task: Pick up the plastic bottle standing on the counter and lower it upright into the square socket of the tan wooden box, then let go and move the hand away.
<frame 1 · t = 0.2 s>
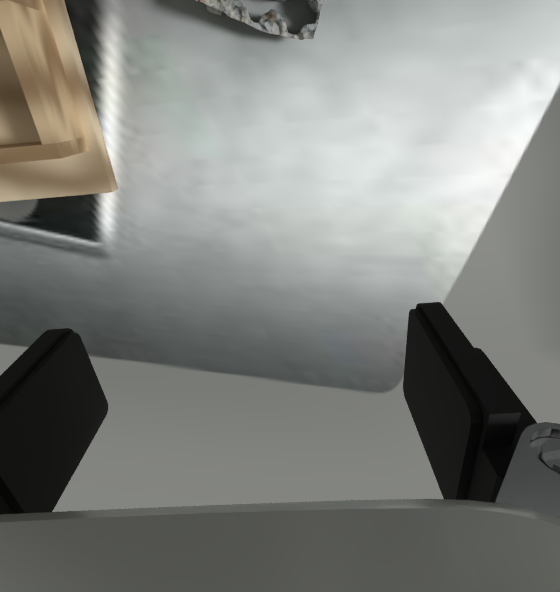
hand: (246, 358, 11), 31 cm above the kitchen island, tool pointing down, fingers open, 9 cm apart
tan wooden box: (13, 86, 35), on the kitchen island
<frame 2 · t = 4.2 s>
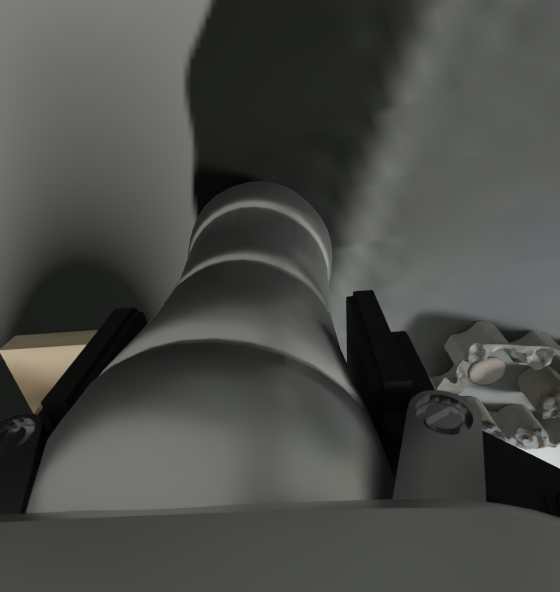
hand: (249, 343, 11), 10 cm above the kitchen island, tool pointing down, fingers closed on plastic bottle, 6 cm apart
tan wooden box: (165, 442, 27), on the kitchen island
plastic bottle: (265, 235, 20), on the kitchen island, touching gripper
grey rocky tray: (509, 368, 24), on the kitchen island
when the fingers open (12 cm above the kitchen island, at t = 10.4 s): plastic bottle drops 1 cm, resting on tan wooden box.
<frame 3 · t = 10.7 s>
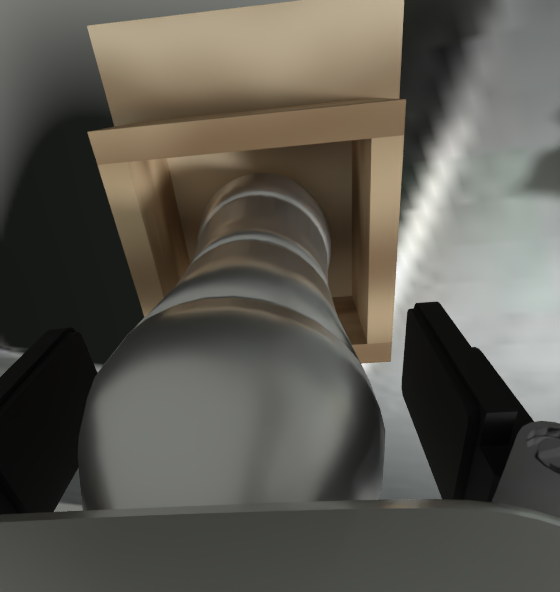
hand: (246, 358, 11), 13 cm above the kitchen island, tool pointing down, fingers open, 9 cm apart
tan wooden box: (267, 220, 22), on the kitchen island
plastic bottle: (268, 224, 21), point 1 cm above the kitchen island, touching tan wooden box
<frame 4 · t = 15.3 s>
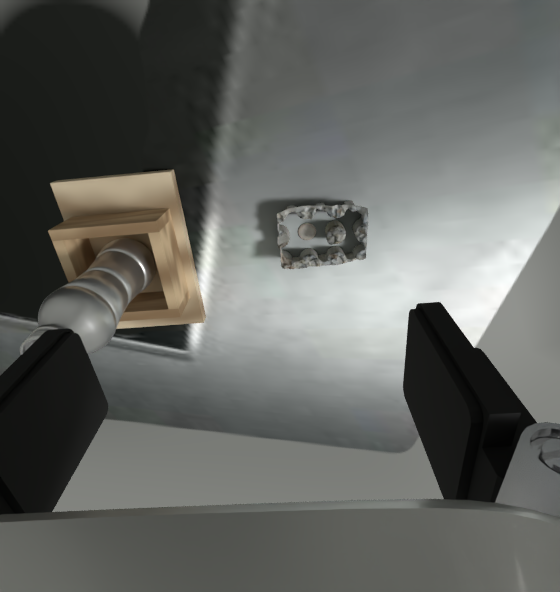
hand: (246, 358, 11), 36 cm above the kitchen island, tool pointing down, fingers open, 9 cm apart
tan wooden box: (138, 254, 49), on the kitchen island
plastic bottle: (135, 257, 47), point 1 cm above the kitchen island, touching tan wooden box
grey rocky tray: (320, 227, 47), on the kitchen island
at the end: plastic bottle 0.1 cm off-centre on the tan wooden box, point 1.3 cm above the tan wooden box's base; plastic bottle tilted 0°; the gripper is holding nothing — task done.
